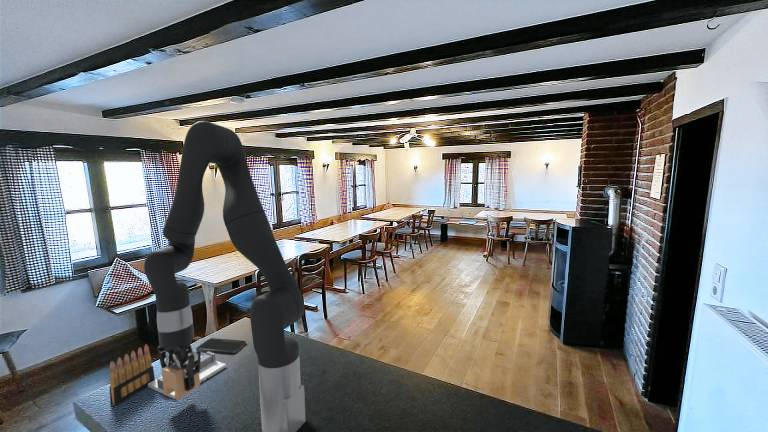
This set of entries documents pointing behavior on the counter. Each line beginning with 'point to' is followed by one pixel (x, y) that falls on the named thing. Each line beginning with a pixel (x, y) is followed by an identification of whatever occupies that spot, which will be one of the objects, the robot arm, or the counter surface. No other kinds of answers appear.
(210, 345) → the phone
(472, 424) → the counter surface
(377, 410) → the counter surface
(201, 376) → the rail board
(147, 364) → the ammunition clip
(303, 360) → the counter surface
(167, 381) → the block
